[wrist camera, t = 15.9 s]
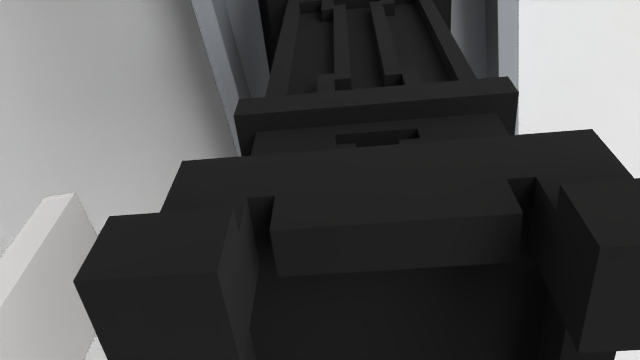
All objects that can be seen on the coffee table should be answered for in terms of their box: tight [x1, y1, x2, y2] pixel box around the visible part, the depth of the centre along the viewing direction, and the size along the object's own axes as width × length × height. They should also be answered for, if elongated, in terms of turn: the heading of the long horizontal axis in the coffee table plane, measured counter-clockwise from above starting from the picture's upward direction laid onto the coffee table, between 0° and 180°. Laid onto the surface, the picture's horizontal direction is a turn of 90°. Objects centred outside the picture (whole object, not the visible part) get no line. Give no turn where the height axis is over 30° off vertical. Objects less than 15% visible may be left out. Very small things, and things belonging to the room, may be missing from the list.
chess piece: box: [73, 0, 640, 360], centre depth 16 cm, size 8×8×20 cm
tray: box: [191, 0, 519, 157], centre depth 24 cm, size 13×13×3 cm
